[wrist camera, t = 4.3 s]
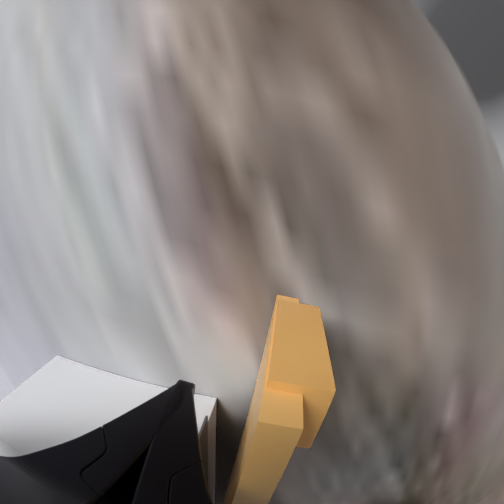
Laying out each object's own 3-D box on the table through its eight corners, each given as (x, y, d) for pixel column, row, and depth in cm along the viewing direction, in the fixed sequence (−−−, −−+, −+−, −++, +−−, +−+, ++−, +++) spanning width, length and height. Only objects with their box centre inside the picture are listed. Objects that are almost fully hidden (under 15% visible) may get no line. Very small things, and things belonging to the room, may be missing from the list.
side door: (239, 519, 13) (222, 597, 7) (219, 515, 13) (198, 592, 8) (316, 294, 10) (341, 424, 4) (278, 286, 10) (260, 412, 4)
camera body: (215, 522, 14) (192, 603, 7) (102, 488, 15) (62, 554, 8) (217, 388, 11) (161, 535, 5) (55, 346, 12) (-41, 421, 6)
